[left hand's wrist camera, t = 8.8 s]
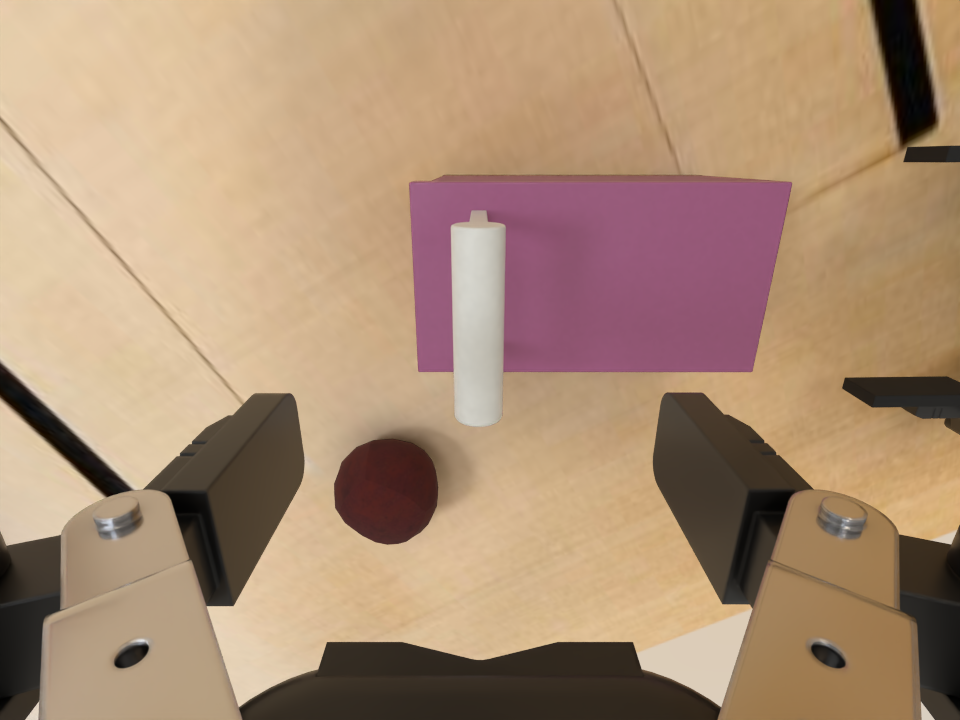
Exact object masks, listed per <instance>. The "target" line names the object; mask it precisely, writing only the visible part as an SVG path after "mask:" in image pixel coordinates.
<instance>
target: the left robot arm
mask: <svg viewBox="0 0 960 720" xmlns="http://www.w3.org/2000/svg"><path fill="white" fill-rule="evenodd" d="M653 470H654V476H655V480H656V483H657V485H658V487H659V489H660V491H661V492H662V494H663V496H664V498H665V500H666V502H667V503H668V505H669V507H670V509H671V511H672V513H673V514H674V516H675V518H676V520H677V522H678V524H679V525H680V527H681V529H682V531H683V533H684V535H685V536H686V538H687V540H688V542H689V544H690V546H691V547H692V549H693V551H694V553H695V555H696V557H697V558H698V560H699V562H700V564H701V566H702V568H703V569H704V571H705V573H706V575H707V577H708V579H709V580H710V582H711V584H712V586H713V588H714V590H715V591H716V593H717V595H718V597H719V599H720V601H721V602H722V604H750V605H751V607H752V608H753V610H752V613H751V616H750V619H749V622H748V626H747V629H746V632H745V635H744V638H743V641H742V644H741V648H740V651H739V654H738V657H737V660H736V663H735V666H734V670H733V673H732V676H731V679H730V682H729V685H728V688H727V692H726V695H725V698H724V701H723V704H722V707H720V706H718V705H717V704H715V703H714V702H713V701H711V700H710V699H708V698H706V697H705V696H703V695H701V694H700V693H698V692H696V691H694V690H693V689H691V688H689V687H687V686H685V685H683V684H681V683H678V682H676V681H674V680H672V679H669V678H667V677H664V676H661V675H658V674H655V673H653V672H649V671H645V670H642V669H641V666H640V663H639V660H638V657H637V654H636V650H635V647H634V644H633V642H557V643H552V644H548V645H544V646H540V647H536V648H532V649H528V650H524V651H520V652H516V653H512V654H508V655H504V656H500V657H495V658H491V659H487V660H473V659H469V658H465V657H460V656H456V655H452V654H448V653H444V652H440V651H436V650H432V649H428V648H424V647H420V646H416V645H412V644H408V643H403V642H327V644H326V647H325V650H324V654H323V657H322V660H321V663H320V666H319V669H318V670H315V671H311V672H307V673H305V674H302V675H299V676H296V677H293V678H290V679H288V680H286V681H284V682H282V683H279V684H277V685H275V686H273V687H271V688H269V689H267V690H266V691H264V692H262V693H260V694H259V695H257V696H255V697H254V698H252V699H250V700H249V701H247V702H246V703H245V704H243V705H242V706H240V707H238V704H237V701H236V698H235V695H234V692H233V688H232V685H231V682H230V679H229V676H228V673H227V670H226V666H225V663H224V660H223V657H222V654H221V651H220V648H219V644H218V641H217V638H216V635H215V632H214V629H213V626H212V622H211V619H210V616H209V613H208V610H207V607H206V606H234V604H235V602H236V601H237V599H238V597H239V595H240V593H241V592H242V590H243V588H244V586H245V584H246V583H247V581H248V579H249V577H250V575H251V573H252V572H253V570H254V568H255V566H256V564H257V563H258V561H259V559H260V557H261V555H262V554H263V552H264V550H265V548H266V546H267V545H268V543H269V541H270V539H271V537H272V535H273V534H274V532H275V530H276V528H277V526H278V525H279V523H280V521H281V519H282V517H283V516H284V514H285V512H286V510H287V508H288V507H289V505H290V503H291V501H292V499H293V497H294V496H295V494H296V492H297V490H298V488H299V487H300V484H301V482H302V478H303V474H304V452H303V445H302V438H301V431H300V425H299V418H298V411H297V405H296V401H295V398H294V396H293V395H292V394H290V393H255V394H253V395H252V396H251V397H250V398H249V399H248V400H247V401H246V402H245V403H244V404H243V405H242V406H241V407H240V408H239V409H238V410H237V412H236V413H235V414H234V415H233V416H227V417H225V418H223V419H221V420H219V421H218V422H216V423H214V424H212V425H210V426H208V427H206V428H205V429H204V430H203V431H202V432H201V433H200V434H199V435H198V436H197V437H196V438H195V439H194V440H193V441H192V444H189V445H188V446H187V447H186V448H185V449H184V450H183V451H182V452H181V453H180V456H177V457H176V458H175V459H174V460H173V461H172V462H171V463H170V464H169V465H168V466H167V467H166V468H165V469H164V470H162V471H161V472H160V473H159V474H158V475H157V476H156V477H155V478H154V479H153V480H152V481H151V482H150V483H149V484H148V485H147V486H146V487H145V488H144V489H143V490H134V491H129V492H124V493H120V494H116V495H113V496H110V497H107V498H105V499H102V500H100V501H98V502H96V503H94V504H92V505H90V506H88V507H86V508H85V509H83V510H82V511H80V512H79V513H77V514H76V515H75V516H74V517H73V518H71V519H70V520H69V521H68V523H67V524H66V525H65V526H64V528H63V530H62V533H61V535H59V536H54V537H49V538H44V539H39V540H34V541H29V542H24V543H19V544H13V545H8V546H6V544H5V542H4V539H3V537H2V535H1V532H0V720H25V719H26V718H27V716H28V715H29V714H30V712H31V711H32V710H33V708H34V707H35V706H36V704H37V703H38V702H39V720H921V702H922V703H923V704H924V706H925V707H926V708H927V710H928V711H929V712H930V714H931V715H932V716H933V718H934V719H935V720H960V525H959V528H958V530H957V533H956V535H955V537H954V540H953V542H952V544H951V545H950V544H945V543H940V542H935V541H930V540H925V539H920V538H914V537H909V536H904V535H899V533H898V530H897V528H896V526H895V525H894V524H893V523H892V521H891V520H890V519H889V518H887V517H886V516H885V515H884V514H883V513H881V512H880V511H878V510H877V509H875V508H874V507H872V506H870V505H868V504H866V503H864V502H862V501H860V500H858V499H855V498H853V497H850V496H847V495H844V494H840V493H836V492H831V491H826V490H814V489H813V488H812V487H811V486H810V485H809V484H808V483H807V482H806V481H805V480H804V479H803V478H802V477H801V476H800V475H799V474H798V473H797V472H796V471H795V470H794V469H793V468H792V467H791V466H790V465H789V464H788V463H787V462H786V461H785V460H784V459H782V458H781V457H780V456H779V455H776V452H775V451H774V450H773V449H772V448H771V447H770V446H769V445H768V444H767V443H764V440H763V439H762V438H761V437H760V436H759V435H758V434H757V433H756V432H755V431H754V430H753V429H752V428H751V427H750V426H748V425H746V424H744V423H743V422H741V421H739V420H737V419H735V418H733V417H732V416H730V415H724V414H723V413H722V412H721V411H720V410H719V409H718V408H717V407H716V406H715V405H714V404H713V403H712V402H711V401H710V400H709V399H708V397H707V396H706V395H705V394H703V393H665V394H664V396H663V398H662V401H661V405H660V412H659V419H658V426H657V433H656V440H655V447H654V453H653Z"/></svg>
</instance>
